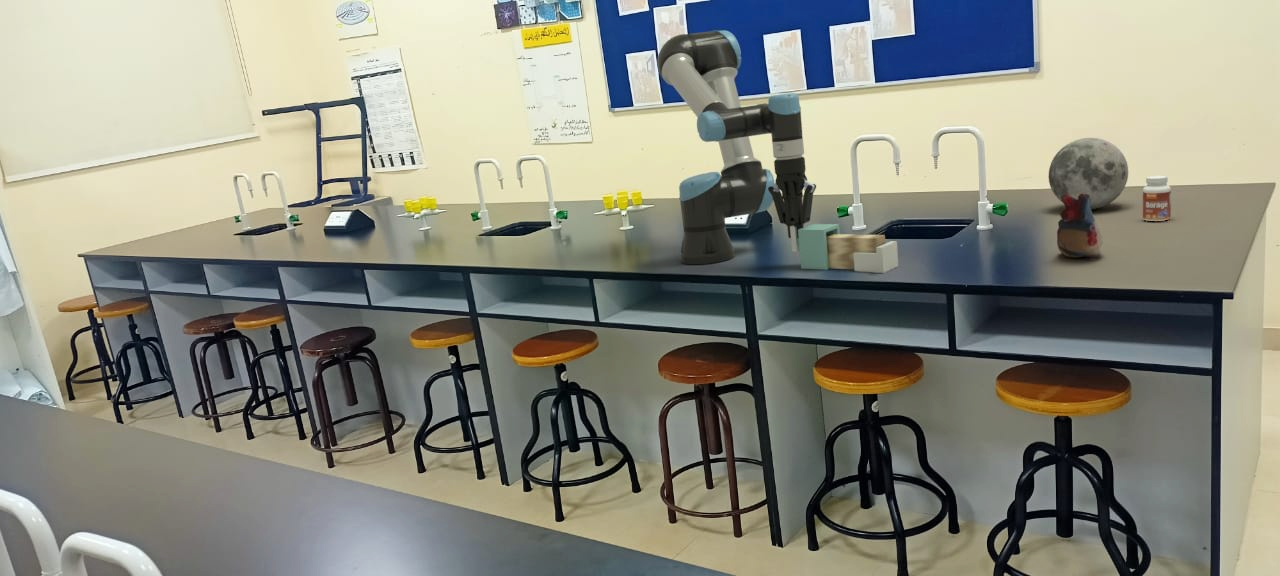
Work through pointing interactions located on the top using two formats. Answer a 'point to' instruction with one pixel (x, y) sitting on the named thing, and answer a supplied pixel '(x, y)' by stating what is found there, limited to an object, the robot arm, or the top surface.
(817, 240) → the cap
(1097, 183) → the moon model
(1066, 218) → the anatomical model
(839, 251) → the wooden block
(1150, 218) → the pill bottle
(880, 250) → the white stepped block
